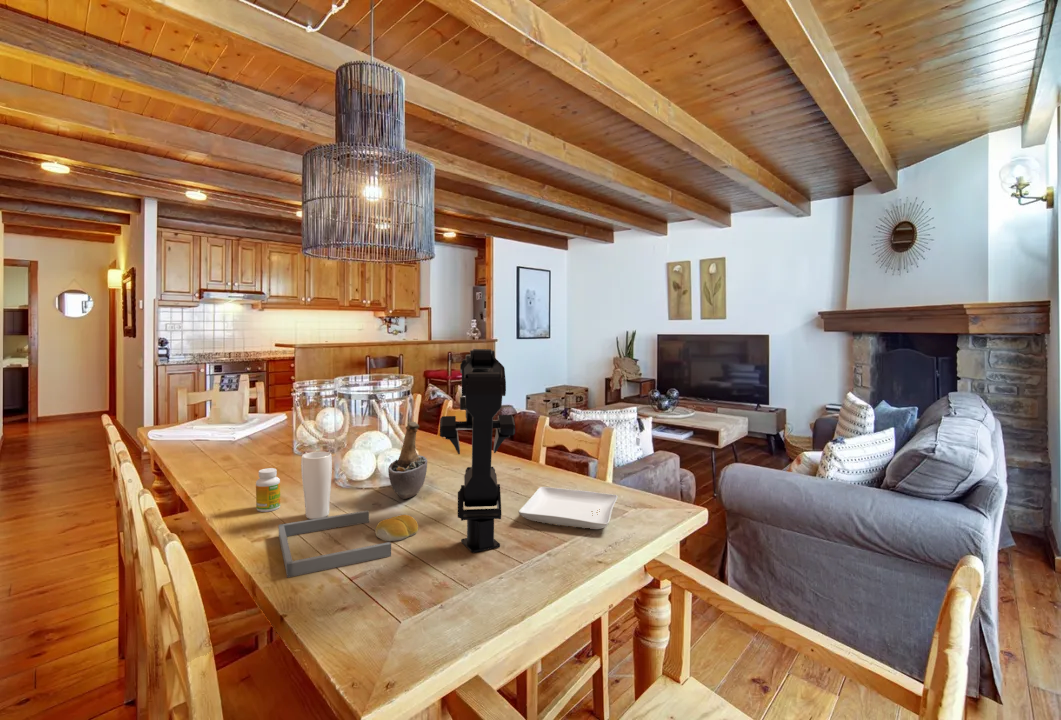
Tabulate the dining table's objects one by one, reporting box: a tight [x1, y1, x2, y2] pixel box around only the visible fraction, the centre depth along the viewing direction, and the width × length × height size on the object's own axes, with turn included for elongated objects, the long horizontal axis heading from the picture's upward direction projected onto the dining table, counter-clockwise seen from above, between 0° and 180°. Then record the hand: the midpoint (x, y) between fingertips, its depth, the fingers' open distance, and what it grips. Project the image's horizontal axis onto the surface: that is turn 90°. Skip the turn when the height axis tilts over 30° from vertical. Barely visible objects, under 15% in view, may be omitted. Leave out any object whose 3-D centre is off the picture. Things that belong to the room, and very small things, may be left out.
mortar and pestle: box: [387, 421, 428, 500], centre depth 141 cm, size 15×17×20 cm
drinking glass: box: [300, 451, 333, 520], centre depth 125 cm, size 7×7×15 cm
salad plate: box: [518, 486, 618, 530], centre depth 129 cm, size 21×21×3 cm
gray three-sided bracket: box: [278, 509, 392, 578], centre depth 109 cm, size 21×19×2 cm
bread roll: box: [374, 514, 419, 542], centre depth 116 cm, size 8×9×4 cm
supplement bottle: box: [255, 467, 281, 513], centre depth 129 cm, size 5×5×10 cm
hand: (476, 452), depth 135 cm, fingers open, 9 cm apart
